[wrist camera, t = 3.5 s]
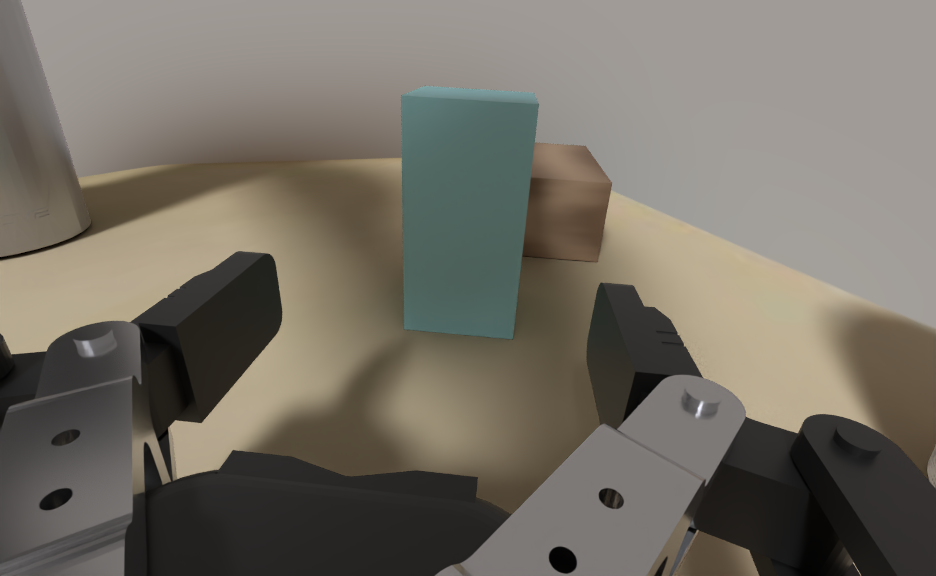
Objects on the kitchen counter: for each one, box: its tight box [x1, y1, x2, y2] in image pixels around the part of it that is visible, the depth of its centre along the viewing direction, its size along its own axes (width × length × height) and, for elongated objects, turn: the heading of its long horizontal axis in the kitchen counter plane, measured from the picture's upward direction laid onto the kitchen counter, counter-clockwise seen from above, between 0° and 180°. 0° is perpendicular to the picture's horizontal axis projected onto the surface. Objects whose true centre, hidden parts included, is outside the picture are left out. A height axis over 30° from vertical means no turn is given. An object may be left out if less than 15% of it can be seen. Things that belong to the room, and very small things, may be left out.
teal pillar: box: [401, 86, 539, 339], centre depth 22 cm, size 5×5×10 cm
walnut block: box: [522, 143, 612, 262], centre depth 35 cm, size 12×12×5 cm
